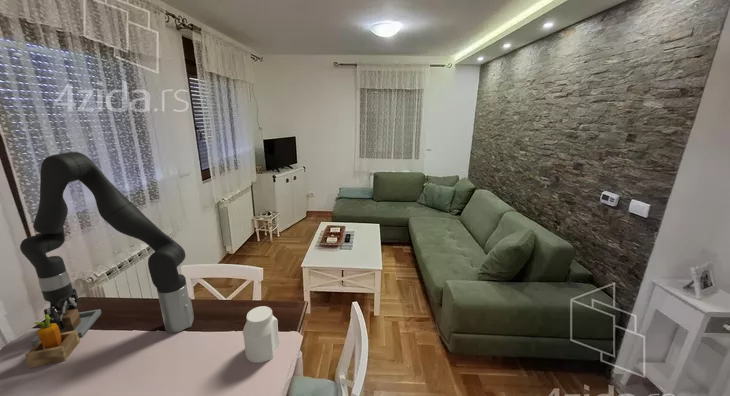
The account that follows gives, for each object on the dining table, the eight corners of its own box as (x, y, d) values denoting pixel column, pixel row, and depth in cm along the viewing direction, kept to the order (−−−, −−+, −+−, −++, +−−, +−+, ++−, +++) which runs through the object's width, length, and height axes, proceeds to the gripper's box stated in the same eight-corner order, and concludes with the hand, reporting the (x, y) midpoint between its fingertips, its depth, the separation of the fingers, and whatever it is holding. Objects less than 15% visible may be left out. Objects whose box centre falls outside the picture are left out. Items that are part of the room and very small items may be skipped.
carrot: (53, 361, 95) (40, 323, 91) (41, 358, 96) (28, 321, 92) (70, 349, 100) (58, 313, 96) (59, 347, 101) (47, 311, 96)
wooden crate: (80, 341, 103) (76, 330, 102) (65, 360, 95) (61, 348, 94) (47, 347, 100) (43, 336, 99) (29, 367, 92) (24, 355, 91)
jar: (256, 337, 107) (252, 302, 103) (281, 338, 106) (279, 303, 102) (242, 362, 95) (237, 324, 91) (270, 364, 95) (266, 326, 91)
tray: (101, 313, 118) (100, 309, 118) (82, 337, 106) (81, 332, 105) (57, 321, 114) (56, 316, 113) (32, 346, 101) (30, 341, 100)
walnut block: (81, 321, 112) (77, 308, 111) (73, 330, 108) (69, 316, 106) (64, 324, 111) (60, 311, 109) (56, 333, 106) (52, 319, 105)
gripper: (56, 293, 99) (69, 332, 104) (80, 273, 112) (90, 308, 117) (27, 297, 97) (41, 337, 101) (55, 276, 110) (66, 312, 114)
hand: (67, 322), depth 109 cm, fingers open, 7 cm apart
